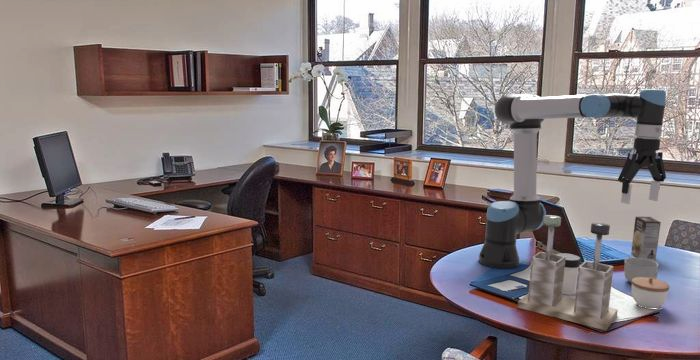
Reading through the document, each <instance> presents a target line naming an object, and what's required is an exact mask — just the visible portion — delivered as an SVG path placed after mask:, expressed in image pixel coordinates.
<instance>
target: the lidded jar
mask: <svg viewBox="0 0 700 360" xmlns="http://www.w3.org/2000/svg"><path fill="white" fill-rule="evenodd" d="M669 290H670V285H669V284H668V283H667V282H666V281H663V280H661V279H658V278H657V279H654V278H652V277H649V278H647V277H636V278H633V279H632V283H631V295H632V296H631V297H632V299H633V300H634V301H635V303H636V305H637V304H638V305H640V306H642V307H646V308H658V309H659V308H660V307H662V305H664V304H665V302H667V299H668V295H669ZM638 305H637V306H638ZM640 306H639V307H640ZM642 307H641V308H642ZM646 308H645V309H646Z"/></svg>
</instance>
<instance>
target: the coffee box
mask: <svg viewBox="0 0 700 360" xmlns="http://www.w3.org/2000/svg"><path fill="white" fill-rule="evenodd" d="M634 220H635V221H634V228H633V237H632V244H631V254H632V255H633V257H635V258H646V259H650V260H653V261H657V252H658V244H659V238H660V230H661V225H662V224H661V223H662V222H661V221H659V220H657V219H655V218H653V217H652V216H635V219H634Z"/></svg>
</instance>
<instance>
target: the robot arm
mask: <svg viewBox="0 0 700 360" xmlns="http://www.w3.org/2000/svg"><path fill="white" fill-rule="evenodd" d="M666 95H667V92H666V91H665V89H655V88H654V89H652V88H642V89H641V90H640V91H639V94H630V93H629V94H627V93H619V92H618V93H617V92H616V93H597V92H596V93H591V94H575V95H573V94H572V95H558V96H539V95H537V94H532V93H517V94H516V93H509V94H504V95H502V96H501V97H500V98H499V99H498V100H497V101H496V104H495V106H494V113H495V117H496V119H497V120H498V121H499V122H500V123H502V124H503V125H509V130H510V132H512V133H513V194H512V195H511V196H510V197H509V200H503V201H502V200H501V201H500V200H499V201H494V202H492V203H490V204H488V207H487V210H486V211H487V212H486V215H485V218H486V219H485V233H484V234H485V235H484V243H483V245H482V248H481V250H480V252H479V255H478V262H479V263H480V264H482V265H484V266H486V267H489V268H495V269H502V270H503V269H505V270H507V269H514V268H515V269H516V268H517V267H519V265H520V256H519V253H518V249H517V235H518V234H523V233H532V232H534V231H536V230H538V229H540V228H542V227H543V226H544V224H543V221H544V216H545V215H547V211H546V207H544V204H543V203H541V197H540V196H539V195H538V194H537V165H538V164H537V161H538V160H537V156H538V155H537V148H538V146H537V145H538V143H537V142H538V141H537V140H538V139H537V138H538V135H537V134H538V133H539V131H540V130H541V129H542V123H543V122H544V120H545V119H580V118H581V119H582V118H587V119H588V118H591V119H599V118H617V117H618V118H631V119H632V118H633V119H636V125H635V132H634V136H635V138H634V139H633V149H635V152H631V151H630V152H628V153H627V158H626V160H625V163H624V165H623V167H622V169H621V171H620V174H619V175H618V178H617V181H618V182H619V183H622V184H621V199H620V202H621V203H622V204H625V205H626V204H627V205H630V203H631V195H632V187H633V184H632V181H634V178H635V177H636V175H637V174H638V173H639V171H640V170H641V169H643V168H644V167H647V169H648V171H649V173H650V175H651V178H652V179H653V180H651V181H650V187H649V196H648V200H649V201H654V202H658V201H659V200H658V199H659V195H660V194H659V193H660V188H661V182H662V183H664V182H665V180H666V178H667V176H666V175H667V174H666V171H665V166H664V160H663V152H661V151H659V150H660V146H661V139H660V138H661V136H662V129H663V123H664V122H663V121H664V114H665V108H666V105H667V104H666V98H667V96H666Z"/></svg>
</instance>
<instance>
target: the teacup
mask: <svg viewBox="0 0 700 360" xmlns="http://www.w3.org/2000/svg"><path fill="white" fill-rule="evenodd" d="M659 266H660V265H659V263H658V262H657V260H655V261H654V260H650V259H646V258H637V257H636V256H634V255H633V256H629V257H627V258H626V259H624V270H623V271H624V278H625V279H626V280H627V281H628V282H630V283H631V284H632V279H633V278H636V277H647V278H649V277H652V278H654V279H658V272H659Z"/></svg>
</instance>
